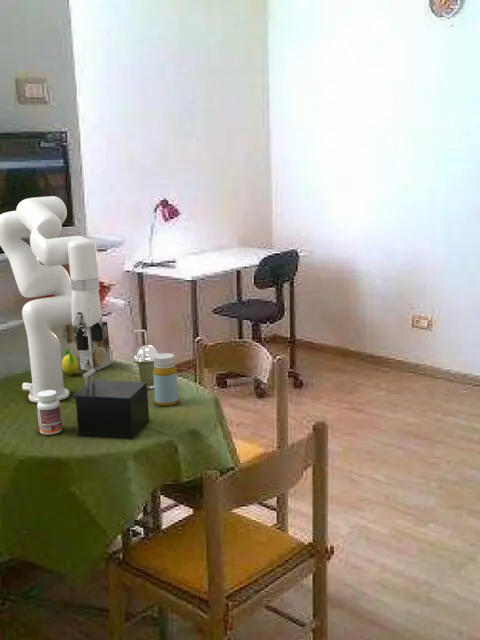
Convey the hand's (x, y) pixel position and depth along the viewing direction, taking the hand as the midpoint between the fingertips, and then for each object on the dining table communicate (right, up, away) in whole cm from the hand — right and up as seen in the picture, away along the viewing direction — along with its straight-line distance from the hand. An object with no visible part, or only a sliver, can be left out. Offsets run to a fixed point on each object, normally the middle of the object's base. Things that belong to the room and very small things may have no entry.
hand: (90, 345), depth 216 cm
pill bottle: (-11, -24, +2) cm, 27 cm away
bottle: (+19, -18, +22) cm, 34 cm away
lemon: (-17, -12, +52) cm, 56 cm away
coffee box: (-10, -10, +60) cm, 62 cm away
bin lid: (+6, -13, 0) cm, 14 cm away
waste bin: (+6, -23, +3) cm, 24 cm away
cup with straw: (+12, -15, +37) cm, 42 cm away
